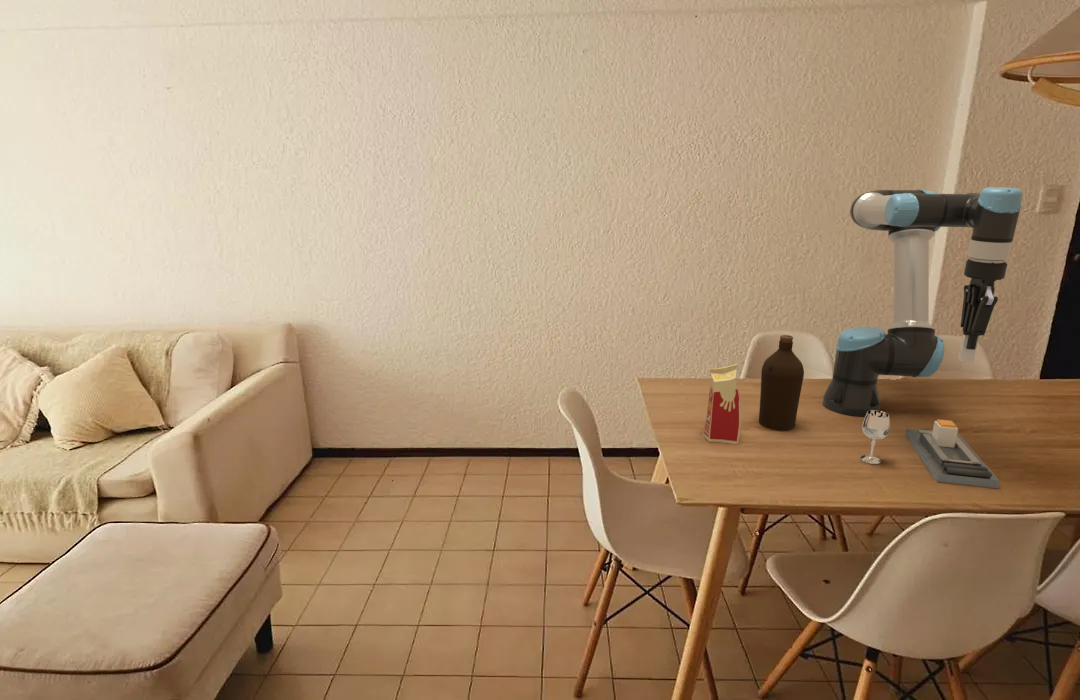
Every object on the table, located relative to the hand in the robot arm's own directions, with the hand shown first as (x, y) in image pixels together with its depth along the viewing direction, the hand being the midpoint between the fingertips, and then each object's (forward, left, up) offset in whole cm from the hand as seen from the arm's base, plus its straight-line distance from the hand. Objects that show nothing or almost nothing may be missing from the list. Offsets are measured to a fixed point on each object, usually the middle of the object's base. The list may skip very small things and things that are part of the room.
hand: (965, 360), depth 146 cm
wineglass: (-18, -6, -25) cm, 31 cm away
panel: (0, -1, -25) cm, 25 cm away
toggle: (0, +4, -23) cm, 23 cm away
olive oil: (-38, +11, -25) cm, 47 cm away
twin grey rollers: (0, -12, -23) cm, 26 cm away
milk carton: (-53, -1, -25) cm, 59 cm away
